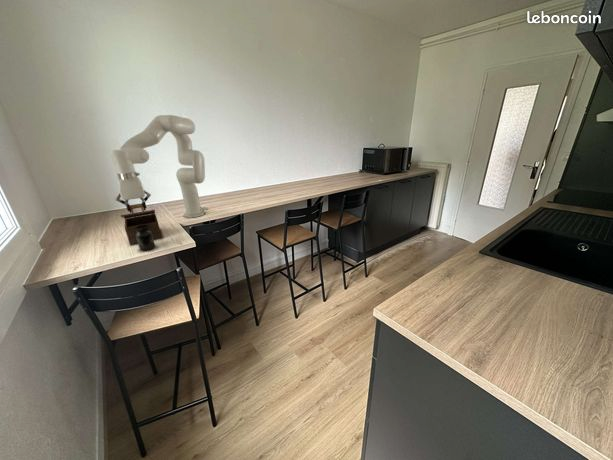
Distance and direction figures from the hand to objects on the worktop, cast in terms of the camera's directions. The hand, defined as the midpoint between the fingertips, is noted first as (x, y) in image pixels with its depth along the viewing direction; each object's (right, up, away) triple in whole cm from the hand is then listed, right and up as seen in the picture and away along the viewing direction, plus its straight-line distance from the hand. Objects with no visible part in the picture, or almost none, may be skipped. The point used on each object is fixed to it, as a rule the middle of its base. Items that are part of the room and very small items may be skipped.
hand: (137, 210), depth 130 cm
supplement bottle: (+7, -20, -3) cm, 21 cm away
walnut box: (-2, -14, +10) cm, 17 cm away
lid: (-2, -2, +4) cm, 5 cm away
